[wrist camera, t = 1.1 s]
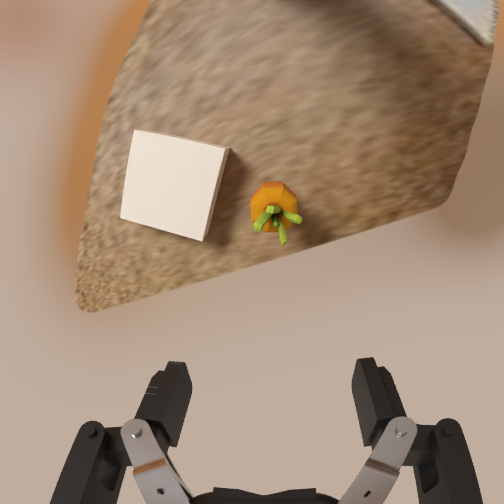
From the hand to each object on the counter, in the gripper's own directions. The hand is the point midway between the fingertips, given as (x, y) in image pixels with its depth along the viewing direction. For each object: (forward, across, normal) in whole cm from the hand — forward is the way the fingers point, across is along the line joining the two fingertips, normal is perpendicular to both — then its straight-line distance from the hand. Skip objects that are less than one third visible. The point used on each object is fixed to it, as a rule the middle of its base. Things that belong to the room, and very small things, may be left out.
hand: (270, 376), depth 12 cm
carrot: (+28, 0, -3) cm, 28 cm away
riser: (+28, +13, -6) cm, 31 cm away
